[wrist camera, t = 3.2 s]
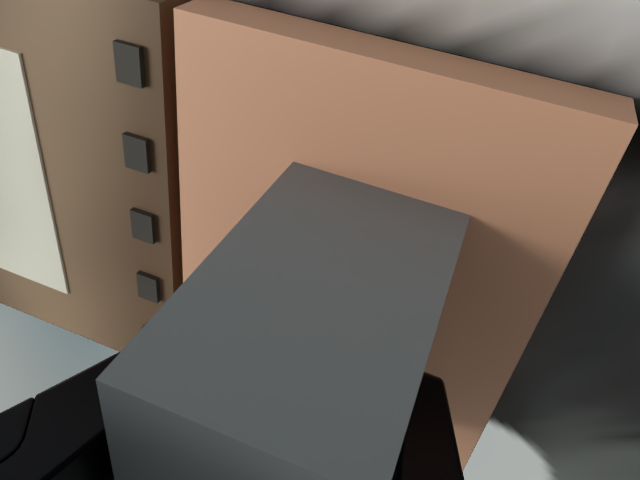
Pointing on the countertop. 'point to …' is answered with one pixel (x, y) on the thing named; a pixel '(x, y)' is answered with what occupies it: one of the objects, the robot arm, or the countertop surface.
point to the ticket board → (89, 163)
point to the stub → (348, 246)
